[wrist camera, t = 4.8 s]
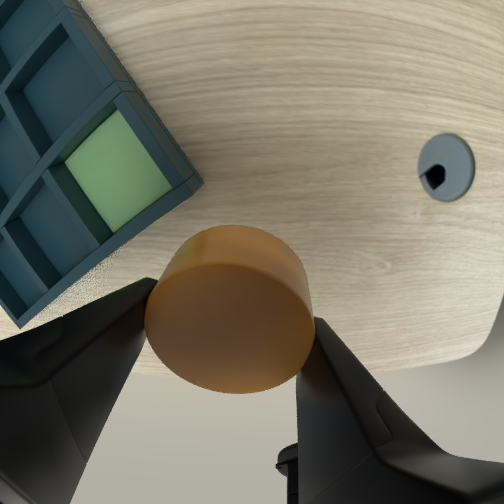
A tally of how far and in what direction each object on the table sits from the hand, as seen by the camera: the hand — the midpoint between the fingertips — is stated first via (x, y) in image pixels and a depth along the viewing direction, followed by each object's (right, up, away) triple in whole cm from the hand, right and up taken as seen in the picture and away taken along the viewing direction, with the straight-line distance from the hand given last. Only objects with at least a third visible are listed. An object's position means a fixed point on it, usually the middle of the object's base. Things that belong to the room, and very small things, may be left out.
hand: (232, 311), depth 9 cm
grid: (-17, +9, +9) cm, 21 cm away
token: (0, +1, +1) cm, 1 cm away
